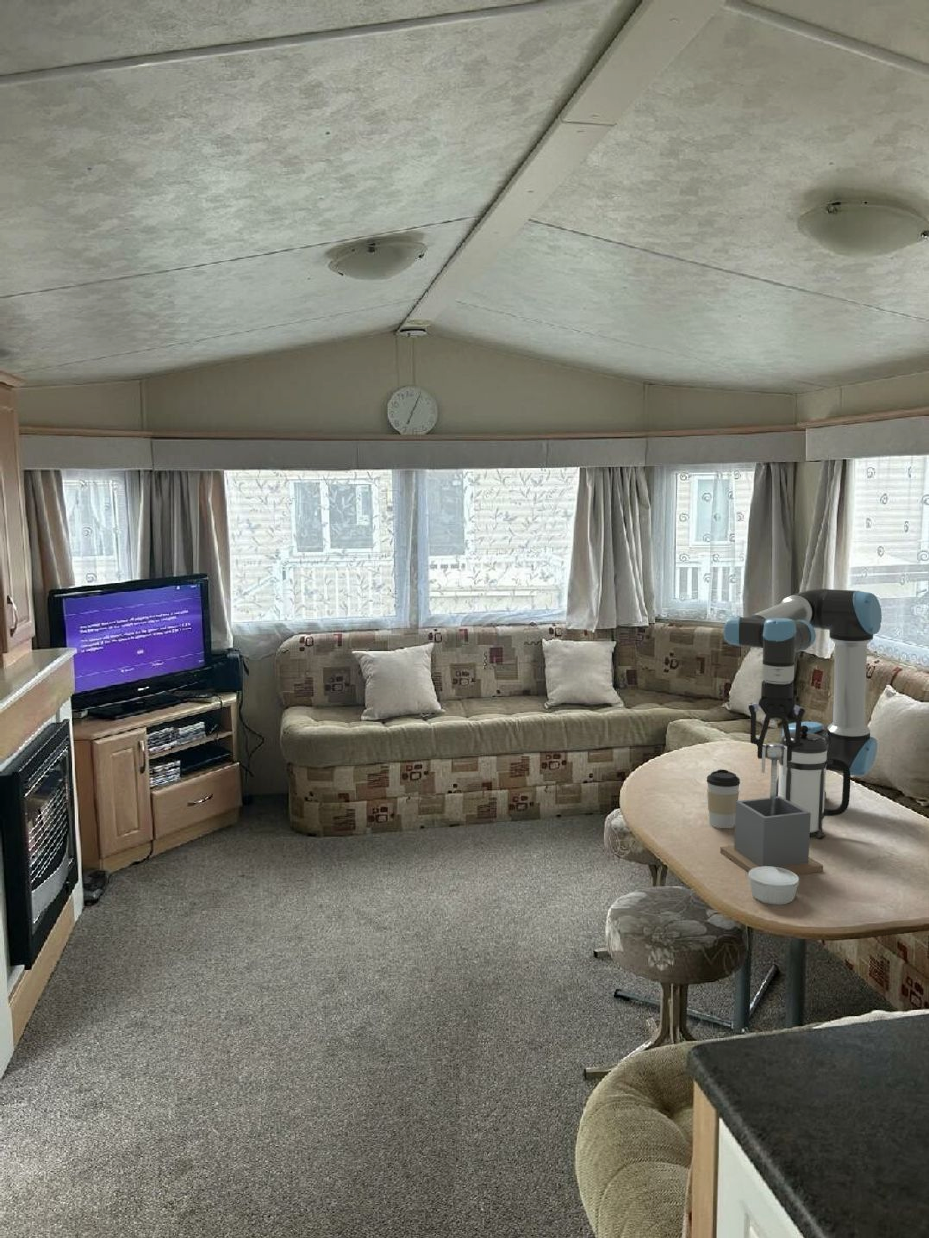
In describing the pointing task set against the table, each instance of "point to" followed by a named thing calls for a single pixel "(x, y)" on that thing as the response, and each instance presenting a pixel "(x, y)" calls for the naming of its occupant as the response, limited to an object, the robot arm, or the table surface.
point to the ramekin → (773, 884)
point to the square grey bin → (772, 837)
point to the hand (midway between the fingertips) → (773, 771)
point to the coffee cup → (722, 798)
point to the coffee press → (811, 778)
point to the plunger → (774, 770)
